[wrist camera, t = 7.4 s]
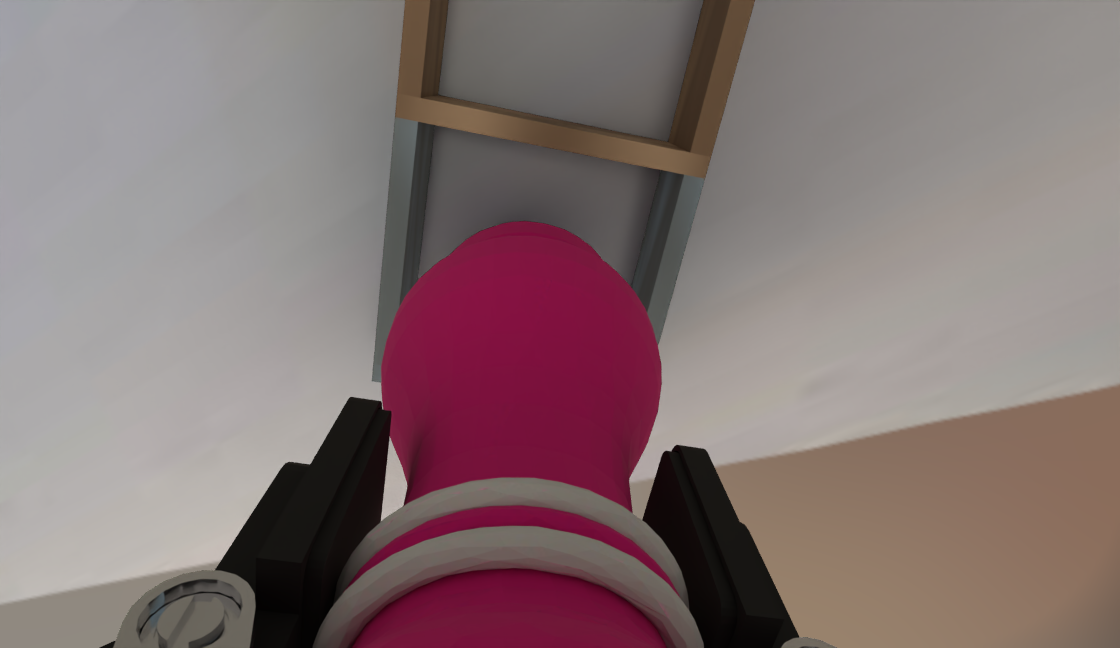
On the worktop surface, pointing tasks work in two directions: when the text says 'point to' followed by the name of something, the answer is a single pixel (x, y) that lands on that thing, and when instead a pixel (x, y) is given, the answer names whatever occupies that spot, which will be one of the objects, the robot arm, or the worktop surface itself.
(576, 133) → the organizer
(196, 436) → the worktop surface
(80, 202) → the worktop surface
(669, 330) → the worktop surface
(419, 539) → the pepper mill
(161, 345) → the worktop surface
